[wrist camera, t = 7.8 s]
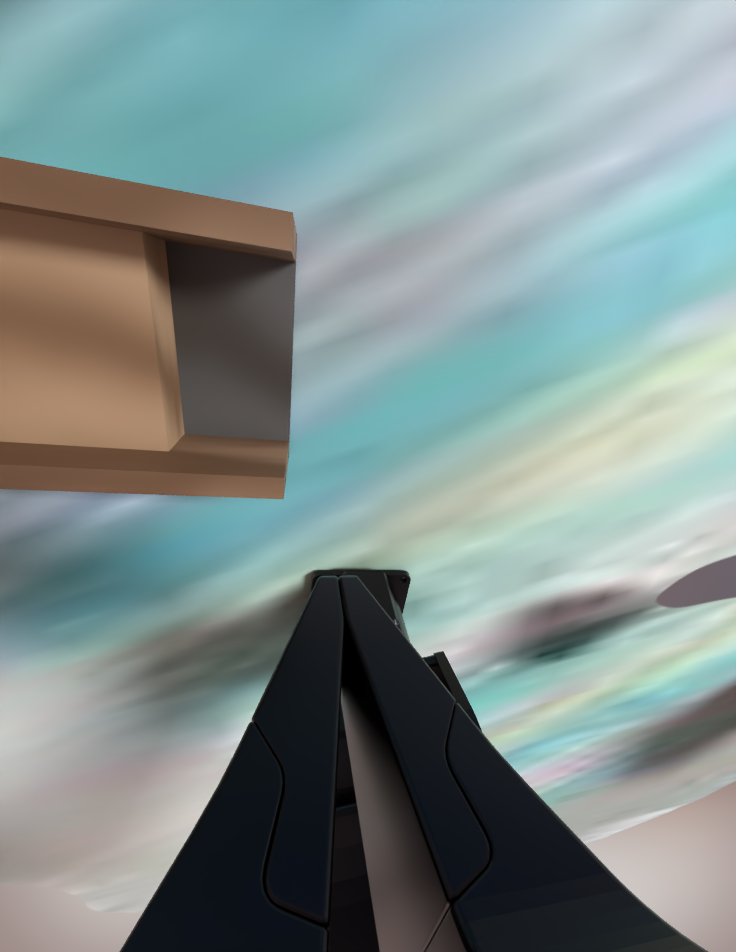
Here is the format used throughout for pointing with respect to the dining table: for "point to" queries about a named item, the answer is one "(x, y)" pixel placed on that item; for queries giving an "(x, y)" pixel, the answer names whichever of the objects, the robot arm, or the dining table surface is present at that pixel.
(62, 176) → the trap box
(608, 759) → the dining table surface
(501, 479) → the dining table surface
